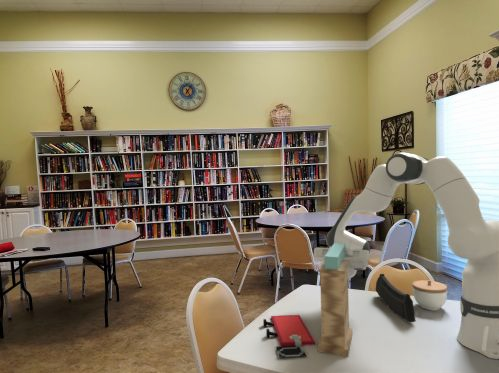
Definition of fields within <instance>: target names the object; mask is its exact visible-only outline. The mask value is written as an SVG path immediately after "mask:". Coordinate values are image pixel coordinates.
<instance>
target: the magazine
mask: <svg viewBox="0 0 499 373" xmlns="http://www.w3.org/2000/svg"><path fill="white" fill-rule="evenodd" d="M375 282H376V283H375V292H376V293H377V295H378V296H379V298H380V300H382V301H383V303H384V304H385V305H386V307H388V309H389V310H390V311H391V312H393V313H394V314H395V315H396V316H398V317H399V318H401V319H403V320H404V321H406V322H407V323H415V322H417V320H416V315H415V309H414V308H415V307H414V301H413V300H412V298H411V294H409V293H404V292H402V291H401V290H399V289H398V288H396V287H395V286H394V285H393V284H392V283H391V282H390V281H389V279H387V277H386V276H385V274H384V273H380V274H379V276H378V277H377V279H376V281H375Z"/></svg>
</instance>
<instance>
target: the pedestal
mask: <svg viewBox="0 0 499 373" xmlns="http://www.w3.org/2000/svg"><path fill="white" fill-rule="evenodd" d="M348 265H349V260H343V261H342V263H341V265H340V267H339V269H338V270H330V269H325V260H324V261H323V262H321V264H320V265H319V267H318V268H317V273H320V274H319V276H320V277H319V280H320V281H319V282H320V315H321V316H320V317H321V319H320V320H321V323H320V324H321V337H320V339H319V342H318V345H317V347H318V348H317V349H318V350H317V351H318V352H319V353H325V354H332V355H337V356H343V357H349V354H350V348H351V344H352V341H353V340H352V339H353V328H350V315H349V314H350V312H349V311H350V309H349V308H350V307H349V304H350V303H349V278H348Z"/></svg>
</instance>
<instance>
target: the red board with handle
mask: <svg viewBox="0 0 499 373" xmlns="http://www.w3.org/2000/svg"><path fill="white" fill-rule="evenodd" d="M270 319H271V321H272V322H271V321H267V319H266V318H263V323H262V324H263V328H266V329H265V330H266V331H265V332H266V334H265V335H266V339H268V340H269V339H270V337H276V338H277V339H278V342H279V345H280V346H277V345H276V346H275V349H276V351H277V355H278V358H289V357H307V354H306V352H305V350H304V347H303V346H310V345H312V346H313V345H315V344H316V341H315V340H314V338H313V336H312V334H311V333H310V331H309V329H308V328H307V326H306V325H307V324H305V322H304V320H303V318H302V317H301V315H300V314H289V315H288V314H286V315H271V316H270ZM267 326H269V327H274V331H275V332H273V331H271V330H270V328H267Z"/></svg>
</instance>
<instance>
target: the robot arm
mask: <svg viewBox="0 0 499 373" xmlns="http://www.w3.org/2000/svg"><path fill="white" fill-rule="evenodd" d="M401 184H406V185H415V186H417V185H419V186H420V185H422V184H426V185H427V186H428V187H429V189H430V191H431V193H432V195H433V196H434V198H435V200H436V202H437V203H438V205H439V207H440V209H441V210H442V213H443V214H444V217H445V221H446V223H447V227H448V231H449V232H448V238H447V243H448V247H449V249H450V251H451V252H452V253H453V255H455V256H457V258H458V257H459V258H460V259H465V260H467V263H466V265H465V267H464V268H463V270H462V273H461V285H462V286H461V290H462V292H461V294H462V295H461V296H460V300H459V303H460V308H459V309H460V314H461V321H460V326H459V331H458V333H457V336H456V340H457V341H458V343H460V344H461V345H463V346H465V347H466V348H467V349H470V350H472V351H475V352H477V353H480V354H481V355H483V356H485V357H486V358H490V359H496V360H499V220H494V219H486V220H485V219H484V217H483V215H482V212H481V208H480V198H479V196H478V194H477V193H476V192H475V189H474V188H473V187H472V185H471V184H470V181H469V180H468V179H467V178H466V176H465V175H464V173H463V172H462V171H461V169H460V168H459V167H458V166H457V165H456V163H454V162H453V160H451V159H450V158H448V157H447V156H444V155H441V156H436V157H433V158H430V159H427V158H425V157H422V156H421V155H417V154H413V153H408V152H399V153H395V154H393V155H391V156H390V157H389V158H388V159H387V161H386V163H384V164H379V165H377V166H376V167H375V168H374V170H373V171H372V172H371V174H370V176H369V178H368V180H367V182H366V184H365V187H364V189H363V190H362V192H361V193H360V194H357V195H353V197H352V198H351V199H350V200H349V201H348V202H347V203H346V205H345V207H344V209H343V210H342V211H341V214H340V215H339V217H338V218H337V220H336V222H335V223H334V225H333V226H331V227H332V228H331V229H330V230H329V231H328V233H327V235H326V237H325V242H326V246H327V247H315V248H314V249H313V256H314V258H315V260H317V261H318V262H321V263H323V261H324V260H325V255H326V254H327V252H328V251H329V250H330V248H331V247H332V245H333V244H334V243H346V247H345V253H346V255H345V257H344V259H343V260H349V265H348V279H351V278H353V277H354V276H355V275H357V271H361V270H362V271H365V270H366V269H367V266H368V265H369V263H370V252H371V248H370V243H369V241H368V240H366V239H364V238H361V237H360V236H357V235H355V234H353V233H351V232H349V231H347V230H346V227H347V225H348V224H349V223H350V221H351V220H352V218H353V216H354V215H355V214H356V213H359V212H360V213H364V212H365V213H379V212H380V213H381V212H383V211H385V210H386V209H387V208H388V207H389V205H390V203H391V202H392V199H393V198H394V195H395V192H396V190H397V188H398V187H399V186H400V185H401Z"/></svg>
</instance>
